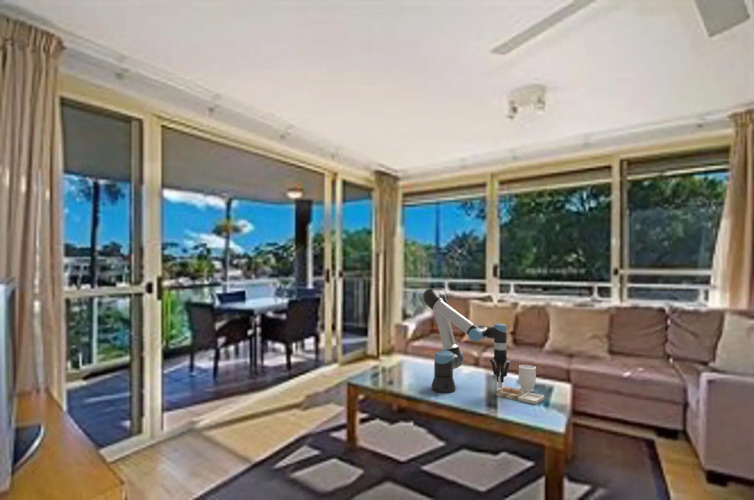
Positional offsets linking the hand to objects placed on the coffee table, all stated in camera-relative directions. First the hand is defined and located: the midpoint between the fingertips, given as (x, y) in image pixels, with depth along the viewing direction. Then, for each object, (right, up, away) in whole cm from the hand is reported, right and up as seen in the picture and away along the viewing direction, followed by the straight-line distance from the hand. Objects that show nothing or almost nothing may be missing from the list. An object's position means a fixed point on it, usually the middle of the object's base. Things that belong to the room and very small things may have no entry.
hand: (500, 387), depth 273 cm
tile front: (+8, -1, -7) cm, 10 cm away
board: (+5, -4, -5) cm, 8 cm away
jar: (+19, -4, +7) cm, 21 cm away
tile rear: (+4, -1, -3) cm, 5 cm away
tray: (+15, -3, -13) cm, 20 cm away
